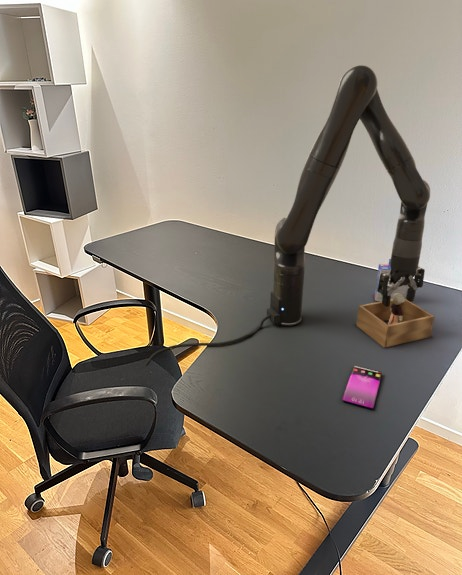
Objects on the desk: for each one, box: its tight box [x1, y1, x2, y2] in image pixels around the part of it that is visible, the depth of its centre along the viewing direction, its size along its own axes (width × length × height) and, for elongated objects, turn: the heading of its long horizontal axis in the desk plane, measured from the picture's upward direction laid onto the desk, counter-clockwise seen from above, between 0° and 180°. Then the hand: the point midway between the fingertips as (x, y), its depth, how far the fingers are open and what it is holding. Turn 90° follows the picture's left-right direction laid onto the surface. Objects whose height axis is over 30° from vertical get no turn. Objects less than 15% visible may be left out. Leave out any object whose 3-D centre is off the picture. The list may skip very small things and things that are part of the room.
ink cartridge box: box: [374, 258, 408, 302], centre depth 151 cm, size 10×6×14 cm, turn 79°
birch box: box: [355, 297, 435, 348], centre depth 133 cm, size 17×14×7 cm
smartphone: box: [341, 365, 383, 410], centre depth 109 cm, size 7×15×1 cm, turn 155°
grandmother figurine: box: [387, 293, 406, 325], centre depth 132 cm, size 8×4×13 cm, turn 14°
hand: (397, 303), depth 130 cm, fingers open, 8 cm apart
